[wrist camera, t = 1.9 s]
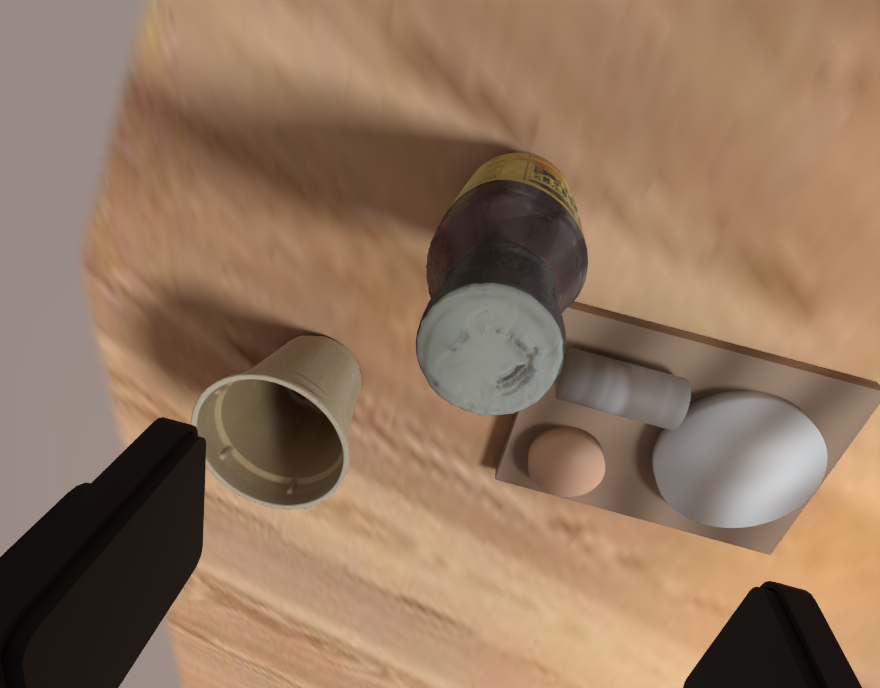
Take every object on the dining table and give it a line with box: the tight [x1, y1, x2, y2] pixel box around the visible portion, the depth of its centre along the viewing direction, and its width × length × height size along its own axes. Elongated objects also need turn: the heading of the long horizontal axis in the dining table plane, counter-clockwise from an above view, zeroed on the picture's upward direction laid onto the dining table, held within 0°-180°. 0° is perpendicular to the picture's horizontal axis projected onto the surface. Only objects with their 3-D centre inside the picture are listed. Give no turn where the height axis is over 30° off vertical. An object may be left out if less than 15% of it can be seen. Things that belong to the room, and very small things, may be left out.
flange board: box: [495, 302, 880, 555], centre depth 36 cm, size 20×14×4 cm
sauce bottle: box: [416, 152, 588, 416], centre depth 24 cm, size 7×6×20 cm
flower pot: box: [191, 335, 361, 510], centre depth 36 cm, size 9×9×9 cm
